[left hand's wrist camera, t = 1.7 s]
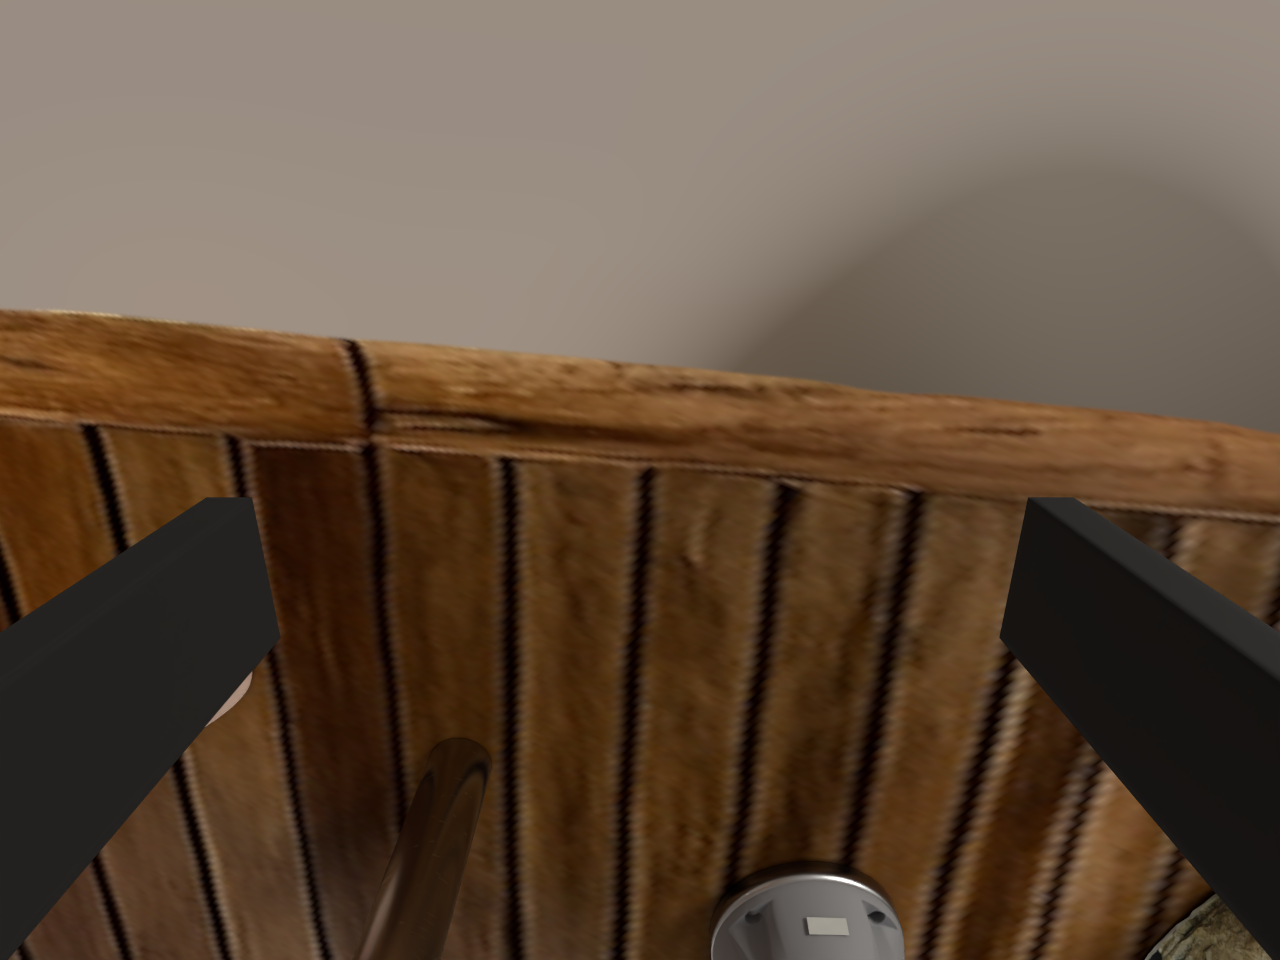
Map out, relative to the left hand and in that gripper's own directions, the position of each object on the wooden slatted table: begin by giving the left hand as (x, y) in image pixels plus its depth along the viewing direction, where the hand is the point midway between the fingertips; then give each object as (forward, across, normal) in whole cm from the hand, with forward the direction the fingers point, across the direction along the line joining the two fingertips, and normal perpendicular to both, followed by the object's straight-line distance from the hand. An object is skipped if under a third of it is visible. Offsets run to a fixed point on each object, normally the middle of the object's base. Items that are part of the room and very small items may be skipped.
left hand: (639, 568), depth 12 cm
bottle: (+31, +13, +32) cm, 47 cm away
